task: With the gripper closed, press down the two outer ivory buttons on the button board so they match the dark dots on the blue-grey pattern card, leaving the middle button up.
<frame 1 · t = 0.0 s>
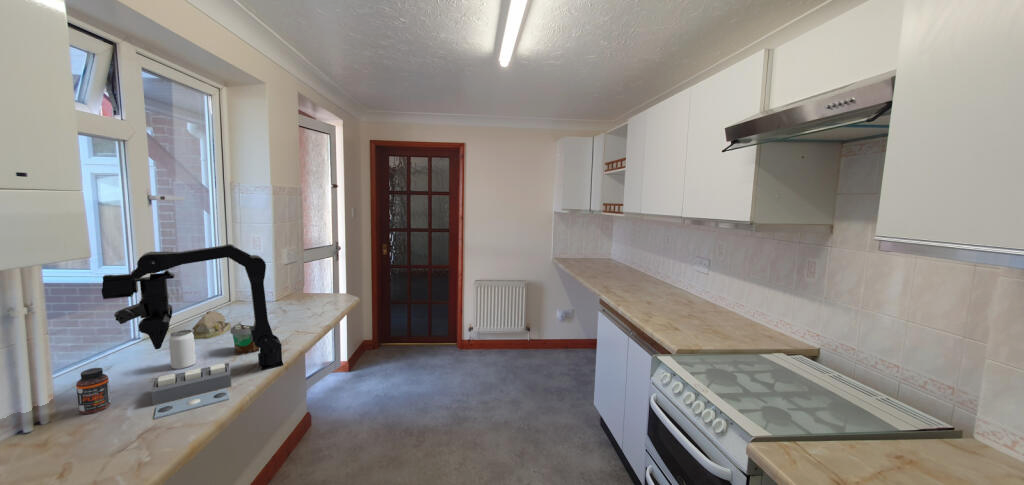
hand: (159, 343, 112), 15 cm above the countertop, tool pointing down, fingers open, 9 cm apart
button board: (194, 388, 115), on the countertop
button 1: (166, 380, 110), point 5 cm above the countertop, slide at 0.0 cm
ceramic model: (211, 334, 159), on the countertop
can: (183, 365, 129), on the countertop
supplement bottle: (95, 409, 103), on the countertop
button middle: (193, 374, 114), point 4 cm above the countertop, slide at 0.0 cm
button 2: (217, 369, 118), point 5 cm above the countertop, slide at 0.0 cm
food container: (242, 352, 142), on the countertop
pattern card: (193, 403, 107), on the countertop
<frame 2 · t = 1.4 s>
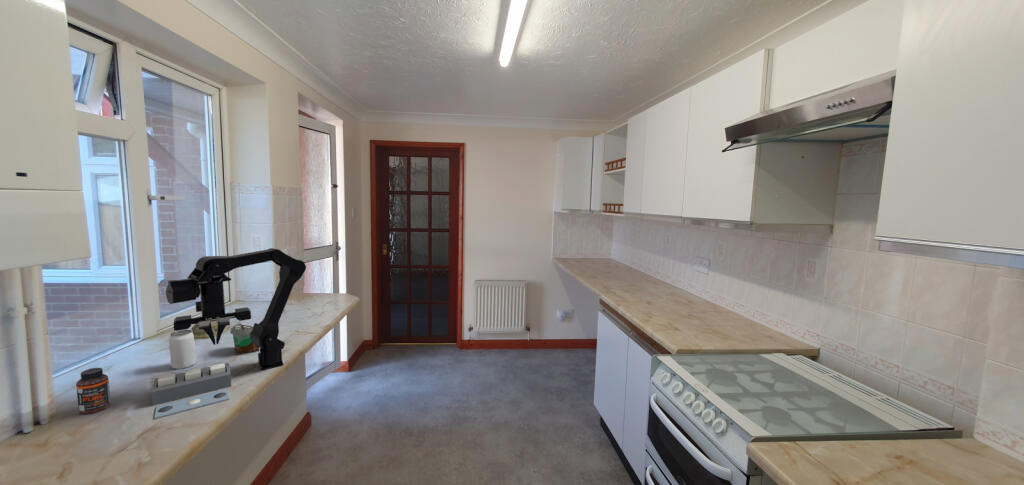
hand: (215, 344, 117), 13 cm above the countertop, tool pointing down, fingers closed
nothing on the countertop moved.
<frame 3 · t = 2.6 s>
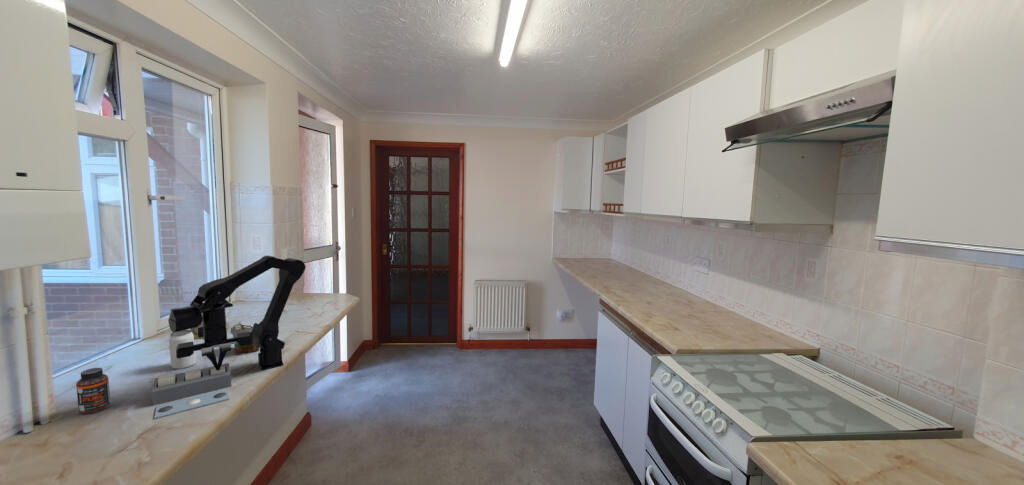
hand: (218, 369, 118), 4 cm above the countertop, tool pointing down, fingers closed, pressing on button 2
button 2: (218, 372, 118), point 3 cm above the countertop, slide at 1.1 cm, touching gripper
everything else where it was.
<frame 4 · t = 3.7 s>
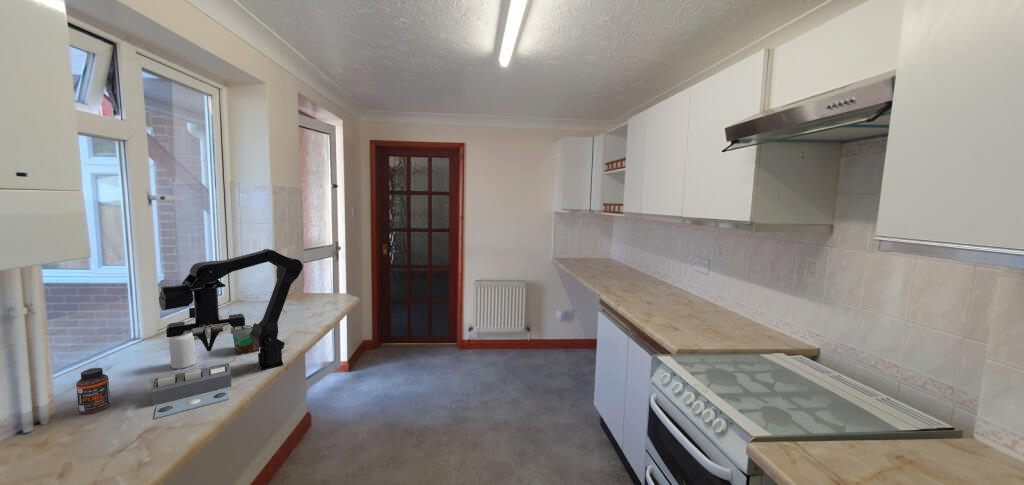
hand: (209, 350, 116), 11 cm above the countertop, tool pointing down, fingers closed
button 2: (218, 373, 118), point 3 cm above the countertop, slide at 1.3 cm
everything else where it was.
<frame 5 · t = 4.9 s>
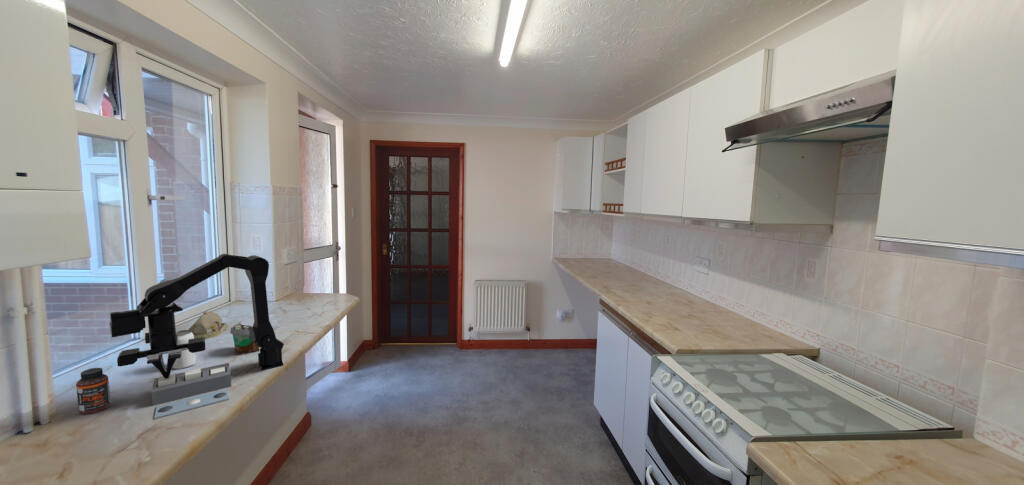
hand: (166, 377, 110), 5 cm above the countertop, tool pointing down, fingers closed, pressing on button 1
button 1: (166, 381, 110), point 4 cm above the countertop, slide at 0.2 cm, touching gripper
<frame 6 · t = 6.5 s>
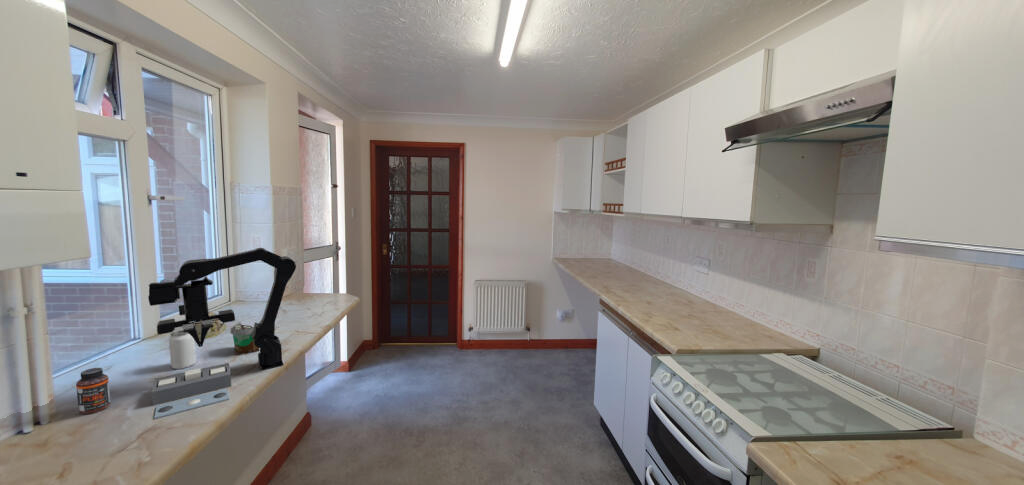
hand: (200, 346, 119), 11 cm above the countertop, tool pointing down, fingers closed
button 1: (167, 384, 110), point 3 cm above the countertop, slide at 1.3 cm
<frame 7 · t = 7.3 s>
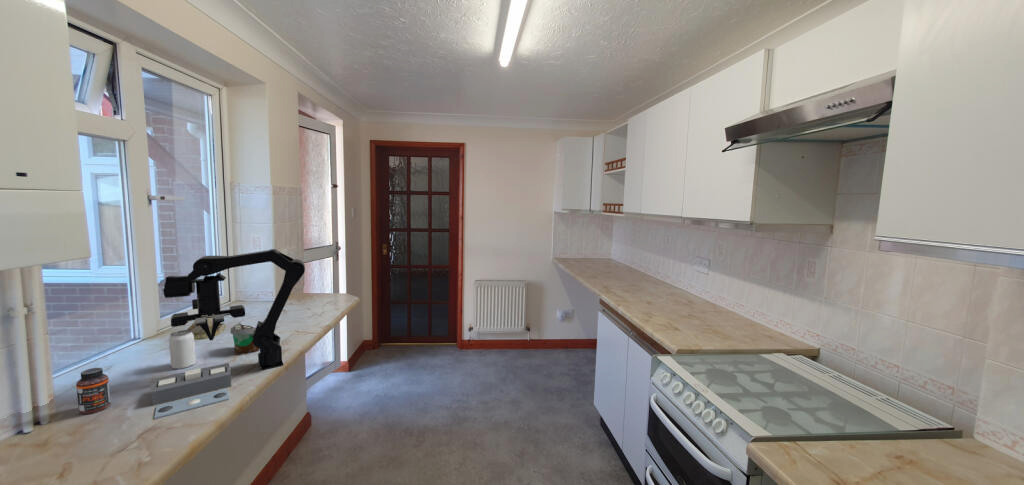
hand: (211, 340, 122), 12 cm above the countertop, tool pointing down, fingers closed
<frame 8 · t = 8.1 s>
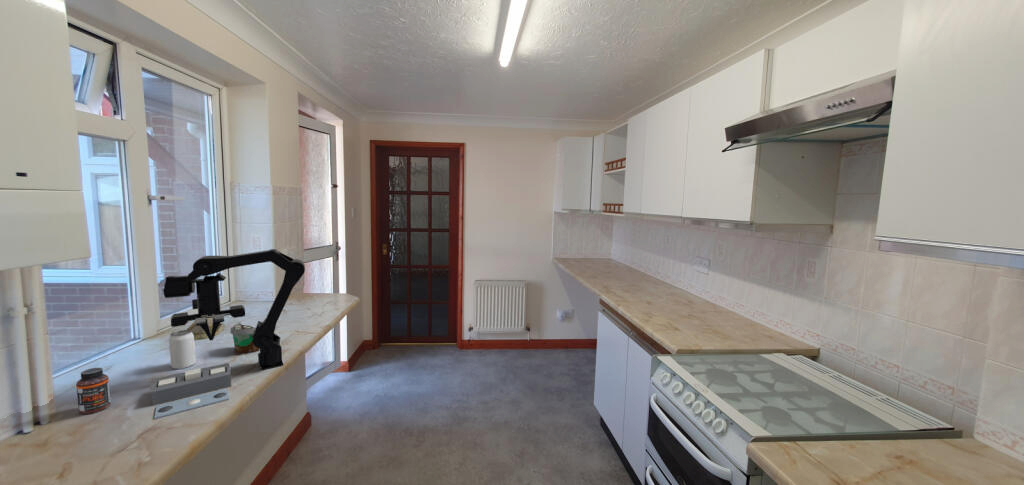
hand: (211, 340, 122), 12 cm above the countertop, tool pointing down, fingers closed
at the end: button 2 slide at 1.3 cm; button 1 slide at 1.3 cm; button middle slide at 0.0 cm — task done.
